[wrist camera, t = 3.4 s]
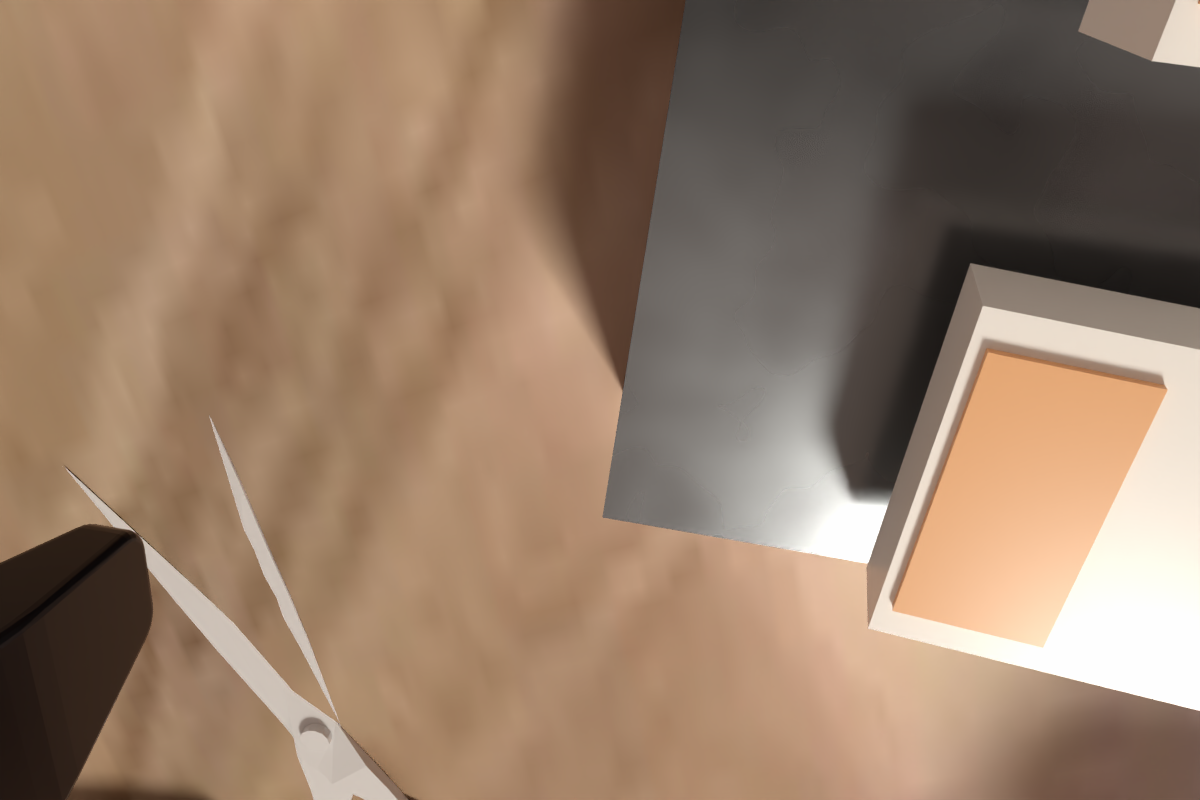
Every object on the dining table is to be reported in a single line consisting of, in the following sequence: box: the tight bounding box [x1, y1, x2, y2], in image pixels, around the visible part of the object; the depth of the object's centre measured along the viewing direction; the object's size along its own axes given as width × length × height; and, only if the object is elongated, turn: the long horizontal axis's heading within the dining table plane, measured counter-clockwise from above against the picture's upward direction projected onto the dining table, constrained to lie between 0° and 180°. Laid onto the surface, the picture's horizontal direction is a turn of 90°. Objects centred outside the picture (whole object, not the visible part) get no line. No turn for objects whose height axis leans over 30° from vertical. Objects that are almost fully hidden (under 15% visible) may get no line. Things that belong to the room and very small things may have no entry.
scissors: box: [66, 415, 408, 800], centre depth 26 cm, size 11×1×20 cm
